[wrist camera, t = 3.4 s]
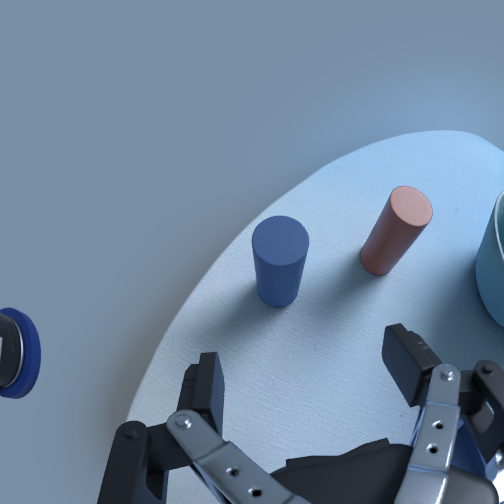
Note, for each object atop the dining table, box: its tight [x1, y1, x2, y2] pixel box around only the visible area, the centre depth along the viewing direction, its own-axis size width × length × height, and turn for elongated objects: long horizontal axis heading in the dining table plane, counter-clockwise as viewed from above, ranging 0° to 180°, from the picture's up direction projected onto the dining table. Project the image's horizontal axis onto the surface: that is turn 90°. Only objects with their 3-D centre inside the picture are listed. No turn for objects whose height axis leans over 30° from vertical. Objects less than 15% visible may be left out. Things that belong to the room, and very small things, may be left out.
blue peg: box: [252, 216, 309, 307], centre depth 23 cm, size 4×4×9 cm
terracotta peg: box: [360, 186, 433, 275], centre depth 23 cm, size 4×4×9 cm
